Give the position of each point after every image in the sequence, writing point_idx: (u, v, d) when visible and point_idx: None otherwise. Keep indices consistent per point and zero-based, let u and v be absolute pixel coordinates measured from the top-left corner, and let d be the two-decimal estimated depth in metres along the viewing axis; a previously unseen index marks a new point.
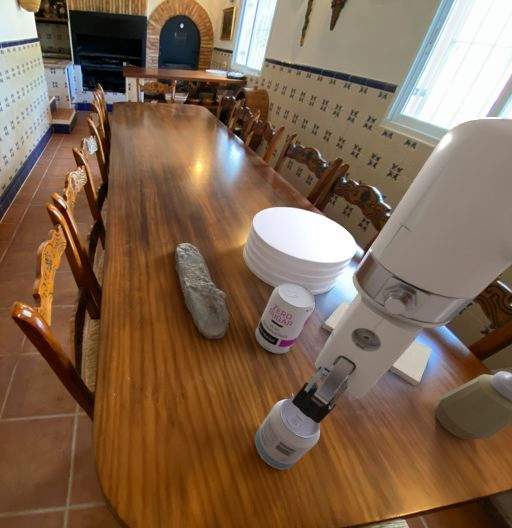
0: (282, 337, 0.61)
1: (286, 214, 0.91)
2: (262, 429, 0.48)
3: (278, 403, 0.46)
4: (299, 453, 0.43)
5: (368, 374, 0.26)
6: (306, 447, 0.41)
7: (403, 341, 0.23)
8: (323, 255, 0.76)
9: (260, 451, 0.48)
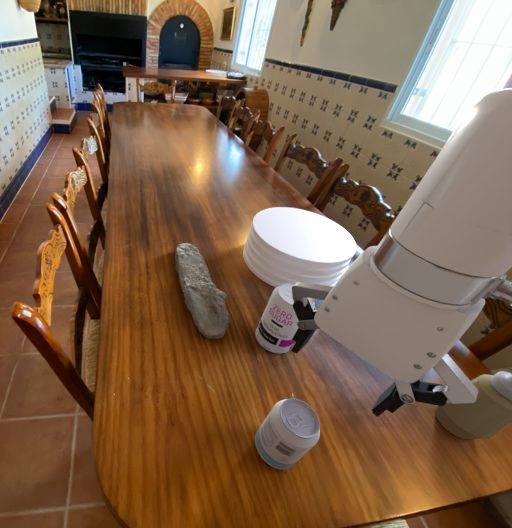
0: (282, 337, 0.61)
1: (286, 214, 0.91)
2: (262, 429, 0.48)
3: (278, 403, 0.46)
4: (299, 453, 0.43)
5: None
6: (306, 447, 0.41)
7: None
8: (323, 254, 0.76)
9: (260, 451, 0.48)
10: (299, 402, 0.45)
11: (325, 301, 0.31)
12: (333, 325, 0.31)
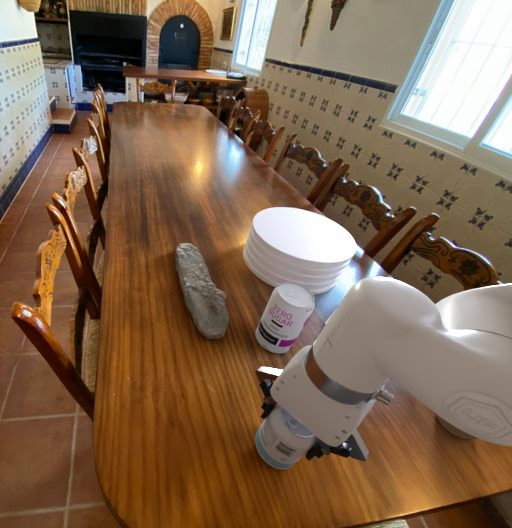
0: (282, 337, 0.61)
1: (286, 214, 0.91)
2: (262, 429, 0.48)
3: None
4: (299, 453, 0.43)
5: None
6: (306, 447, 0.41)
7: None
8: (323, 254, 0.76)
9: (260, 451, 0.48)
10: None
11: (276, 382, 0.41)
12: (282, 400, 0.41)
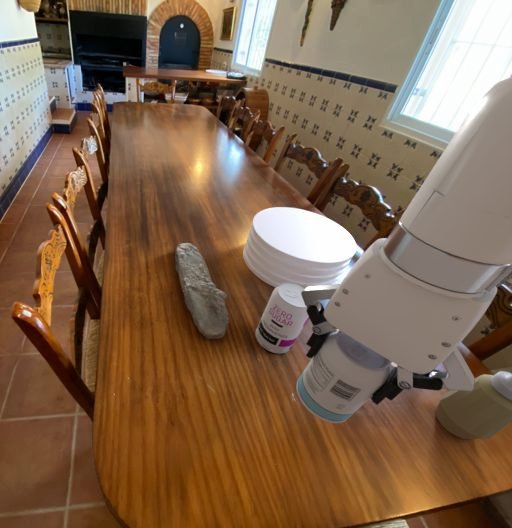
0: (282, 337, 0.61)
1: (286, 214, 0.91)
2: (308, 372, 0.37)
3: (331, 334, 0.35)
4: (364, 394, 0.32)
5: None
6: (376, 384, 0.31)
7: None
8: (323, 254, 0.76)
9: (305, 401, 0.38)
10: None
11: (335, 296, 0.30)
12: (344, 319, 0.31)
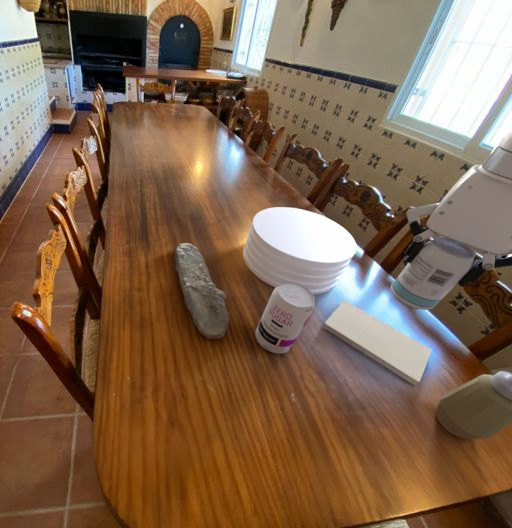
0: (282, 337, 0.61)
1: (286, 214, 0.91)
2: (406, 273, 0.51)
3: (426, 243, 0.49)
4: (455, 279, 0.47)
5: None
6: (466, 268, 0.45)
7: None
8: (323, 254, 0.76)
9: (402, 296, 0.52)
10: (447, 240, 0.49)
11: (440, 207, 0.45)
12: (446, 223, 0.45)
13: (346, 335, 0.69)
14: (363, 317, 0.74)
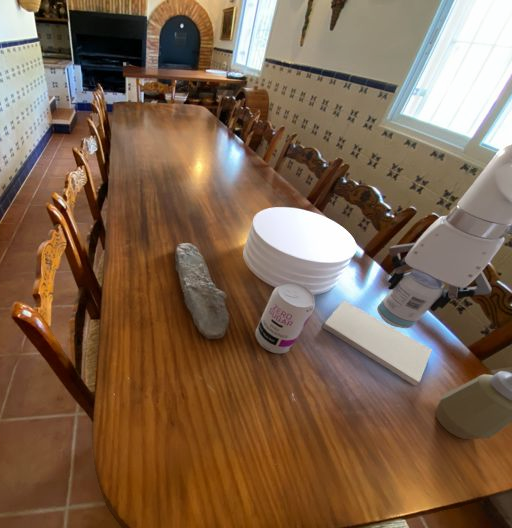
0: (282, 337, 0.61)
1: (286, 214, 0.91)
2: (389, 298, 0.62)
3: (405, 274, 0.60)
4: (427, 305, 0.57)
5: None
6: (435, 297, 0.56)
7: None
8: (323, 254, 0.76)
9: (386, 316, 0.63)
10: (422, 272, 0.60)
11: (414, 248, 0.56)
12: (419, 261, 0.56)
13: (346, 335, 0.69)
14: (363, 317, 0.74)
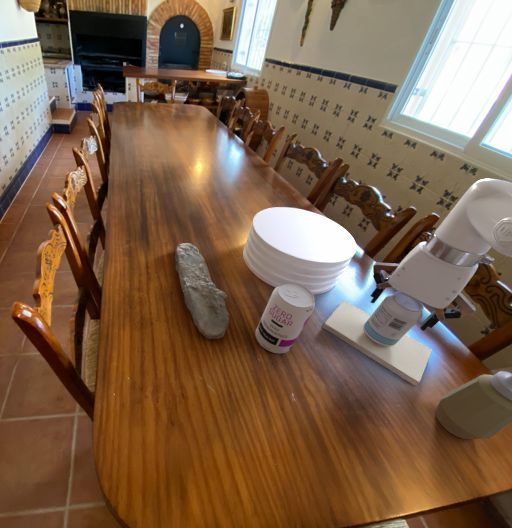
0: (282, 337, 0.61)
1: (286, 214, 0.91)
2: (373, 318, 0.66)
3: (388, 296, 0.64)
4: (408, 326, 0.61)
5: None
6: (415, 319, 0.60)
7: None
8: (323, 254, 0.76)
9: (371, 335, 0.67)
10: (404, 294, 0.64)
11: (397, 271, 0.59)
12: (401, 283, 0.59)
13: (346, 335, 0.69)
14: (363, 317, 0.74)
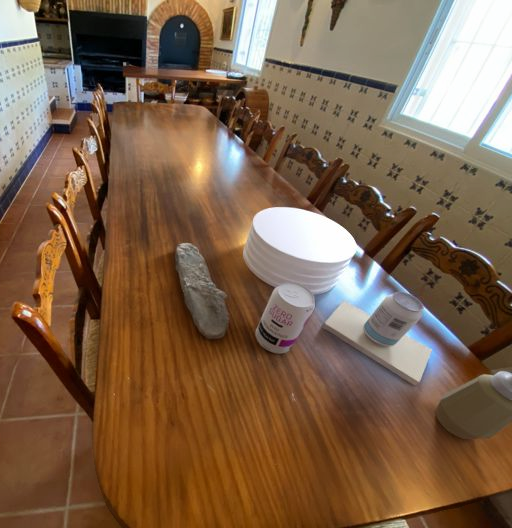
0: (282, 337, 0.61)
1: (286, 214, 0.91)
2: (373, 318, 0.66)
3: (388, 296, 0.64)
4: (408, 326, 0.61)
5: None
6: (415, 319, 0.60)
7: None
8: (323, 254, 0.76)
9: (371, 335, 0.67)
10: (404, 294, 0.64)
11: None
12: None
13: (346, 335, 0.69)
14: (363, 317, 0.74)
